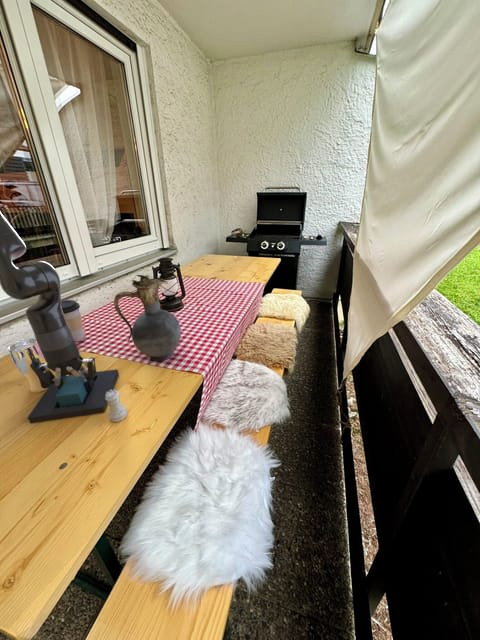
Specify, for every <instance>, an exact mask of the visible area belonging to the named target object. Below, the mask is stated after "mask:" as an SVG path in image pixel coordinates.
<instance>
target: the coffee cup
mask: <svg viewBox="0 0 480 640" xmlns="http://www.w3.org/2000/svg"><path fill="white" fill-rule="evenodd" d="M80 307H81V305H80V303H79V302H77V301H76V300H74V299H67V300H61V308H62V311H63V313H64V316H65V319H66V321H67V324H68V325H69V327H70V329H71V331H72V334H73V336H74V339H75V342H76V343H77V342H80V341H82V340H84V339H85V338H86V335H85V329H84V323H83V318H82V313H81V311H80Z"/></svg>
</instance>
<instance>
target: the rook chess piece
mask: <svg viewBox="0 0 480 640" xmlns="http://www.w3.org/2000/svg"><path fill="white" fill-rule="evenodd" d="M119 396H120V392H119V391H118V390H116V389H113V391H112V390H110V392H107V394H106V396H105V399H106V400H107V401H108V405H109V410H108V419H109V421H110V422H114V423H118V422H121V421H122V420H125V418H126V417H127V415H128V409H127V407H126V406H125V405H123V404H122V403H121V400H120V397H119Z"/></svg>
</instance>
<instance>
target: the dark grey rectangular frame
mask: <svg viewBox="0 0 480 640" xmlns="http://www.w3.org/2000/svg"><path fill="white" fill-rule="evenodd" d="M119 375H120V373H119V370H118V369H109V370H101V371H96V375H95V377H94V382H93V387H92V389H91V390H90V392H88V394H87V397H86V399H85V401H84V403H83V404H82V405H75V406H68V407H60V405H59V403H58V401H57V399H56V397H55V396H56V395H57V393H58V392H59V389H58V387H57V386H55V385H54V384H52V385H50V386H49V387H48V389H47V390H45V391H44V393H43V395H42V396H41V398H40V399H39V400H38V402H37V403H36V405H35V406H34V407H33V409H32V410H31V412H30V413H29V415H28V416H27V420H28V421H29V423H30V424H35V423H43V422H48V421H56V420H63V419H69V418H76V417H83V416H90V415H96V414H103V413H105V412H106V410H107V408H108V405H109V404H108V401H107V400H106V399H105V396H106V394H107V392H110V390H112V391H113V390H115V389H114V388H115V387H116V386H115V385H116V383H117V381H118V377H119ZM68 376H69V375H66V376H64V379H63V381H65V380H66V379H67V377H68Z"/></svg>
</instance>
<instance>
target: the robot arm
mask: <svg viewBox="0 0 480 640" xmlns="http://www.w3.org/2000/svg"><path fill="white" fill-rule="evenodd" d="M26 252H27V246H26V244H25V242H24V241H23V240H22V238H21V237H20V236H19V234H18V233H17V231H16V230H15V229H14V228H13V226H12V225H11V224H10V222H9V221H8V220H7V218H6V217H5V216H4V215H3V214H2V212H1V211H0V287H1V290H3V292H4V293H5V294H6V295H7V296H9V298H12V299H14V300H18V301H25V300H29V299H31V298H35V297H37V296H38V299H37V300H36V301H35V302H34V303H32V304H31V305H29V306H28V307H27V309H26V310H25V315H26V319H27V321H28V324H29V325H30V327H31V329H32V331H33V334H34V339H36V341H37V344H38V346H39V348H40V350H41V352H42V354H43V356H44V359H45V361H46V362H47V364H45V363H41V365H40V366H39V367H38V368H37V369H36V371H37V372H38V373H39V375H40V376H41V377H42V378H43V380H44V381H45V382H46V384H47V385H52V384H54V385H55V386H57V387H58V389H59V390H60V388H61V387H62V385H63V384H64V382H65V381H63V379H64V376H68V375H74V376H75V377H76V378H79V379H80V380H82V381H83V384H84V387H85V389H86V392H88V393H90V391H91V389H92V387H93V385H94V383H93V384H92V381H91V380H93V379H94V377H95V375H96V372H97V367H96V365H97V364H96V358H95V357H94V356H91V357H90V358H84V357H82V355H81V354H80V350H79V346H78V345H77V342H75V339H74V336H73V334H72V331H71V329H70V327H69V325H68V324H67V321H66V319H65V316H64V313H63V311H62V308H61V301H62V293H61V279H60V275H59V273H58V272H57V270H56V269H55V267H53V265H52V264H50V263H49V262H47V261H43V260H39V261H32V262H29V263H26V264H25V263H24V264H22V265H15V264H14V262H13V261H14V260H16V259H18V258H20V257H22V256H23V255H24V254H25V253H26ZM83 365H84V366H83ZM86 370H88V372H87V371H86ZM78 371H79V372H78ZM53 372H54V373H53Z"/></svg>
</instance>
